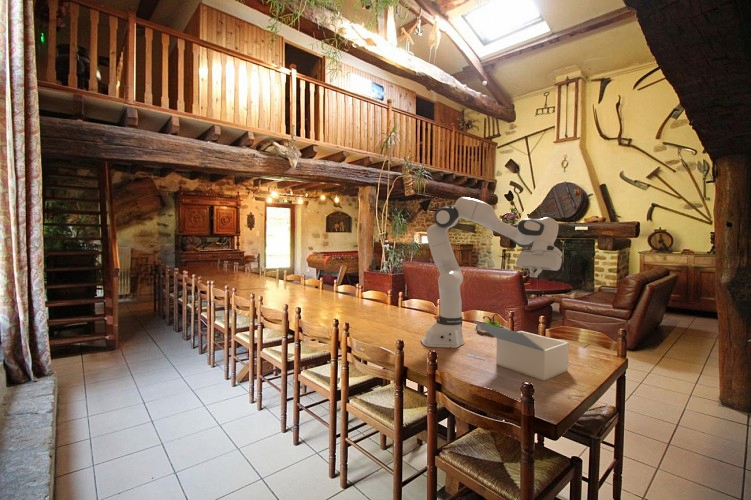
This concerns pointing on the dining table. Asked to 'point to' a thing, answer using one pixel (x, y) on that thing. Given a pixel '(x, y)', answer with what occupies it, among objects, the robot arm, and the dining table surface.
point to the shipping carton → (534, 357)
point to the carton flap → (509, 336)
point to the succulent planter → (492, 323)
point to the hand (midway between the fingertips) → (533, 276)
